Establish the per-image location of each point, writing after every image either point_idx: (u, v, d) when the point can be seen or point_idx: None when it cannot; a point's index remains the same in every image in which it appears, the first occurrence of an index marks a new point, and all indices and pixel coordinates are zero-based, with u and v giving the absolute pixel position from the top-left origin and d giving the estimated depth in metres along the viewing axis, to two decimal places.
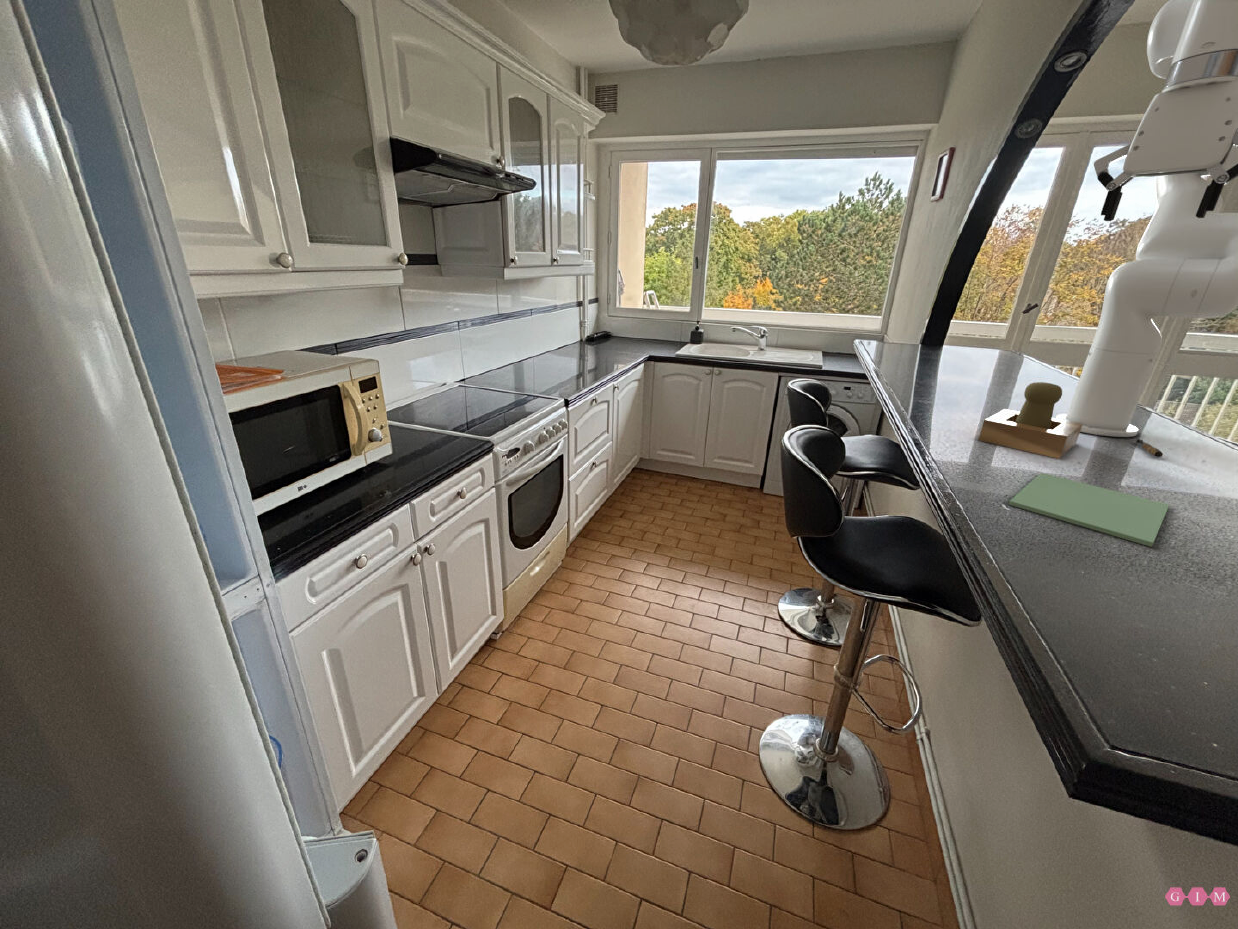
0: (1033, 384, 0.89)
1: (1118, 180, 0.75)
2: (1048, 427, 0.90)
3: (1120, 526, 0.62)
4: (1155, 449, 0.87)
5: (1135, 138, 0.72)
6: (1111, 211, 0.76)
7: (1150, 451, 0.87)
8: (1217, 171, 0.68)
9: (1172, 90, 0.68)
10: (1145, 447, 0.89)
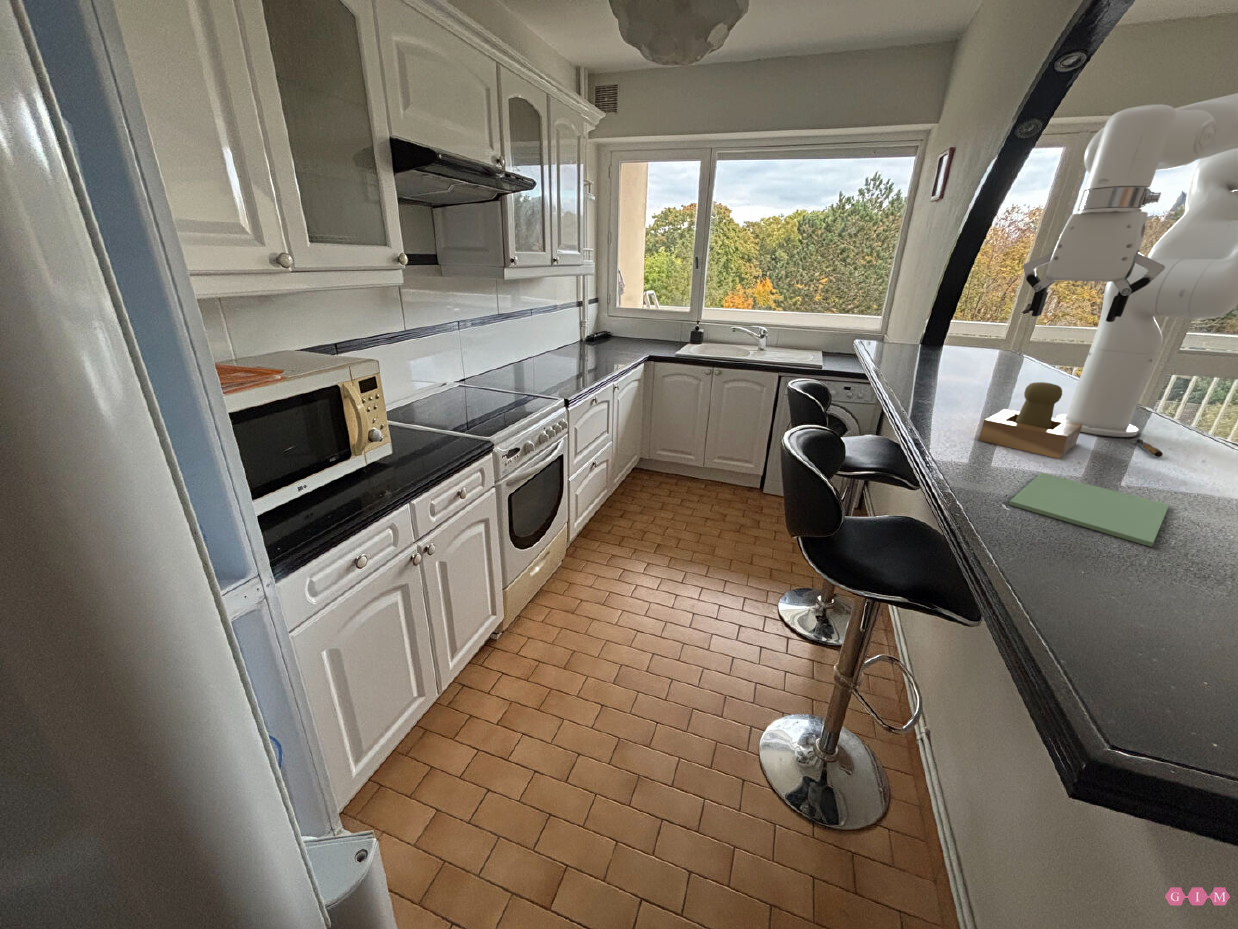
0: (1033, 384, 0.89)
1: (1043, 283, 0.85)
2: (1048, 427, 0.90)
3: (1120, 526, 0.62)
4: (1155, 449, 0.87)
5: (1055, 249, 0.82)
6: (1037, 309, 0.86)
7: (1150, 451, 0.87)
8: (1122, 285, 0.78)
9: (1084, 213, 0.78)
10: (1145, 447, 0.89)
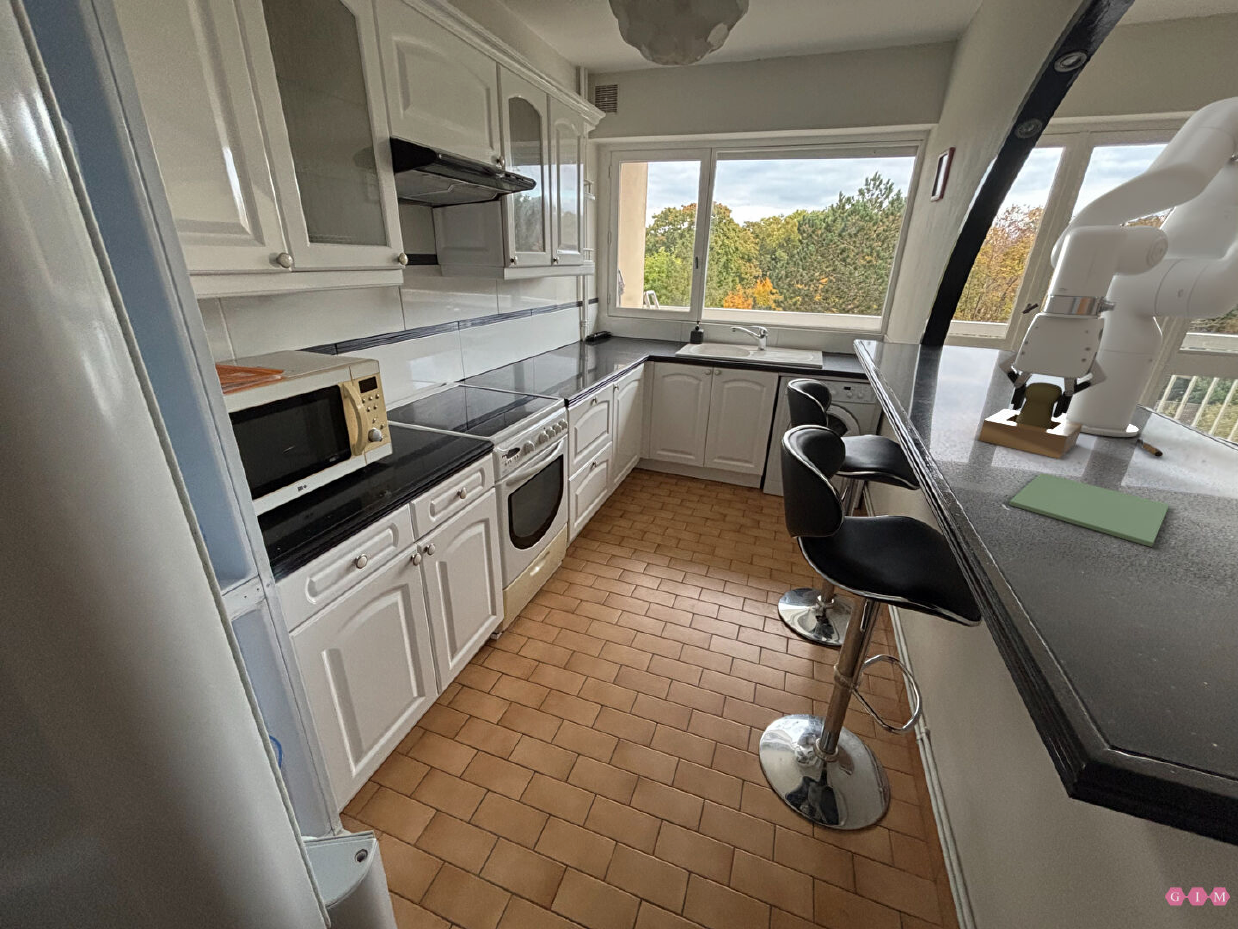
0: (1033, 384, 0.89)
1: (1020, 380, 0.90)
2: (1048, 427, 0.90)
3: (1120, 526, 0.62)
4: (1155, 449, 0.87)
5: (1022, 345, 0.89)
6: (1018, 404, 0.91)
7: (1150, 451, 0.87)
8: (1069, 386, 0.86)
9: (1047, 316, 0.85)
10: (1145, 447, 0.89)
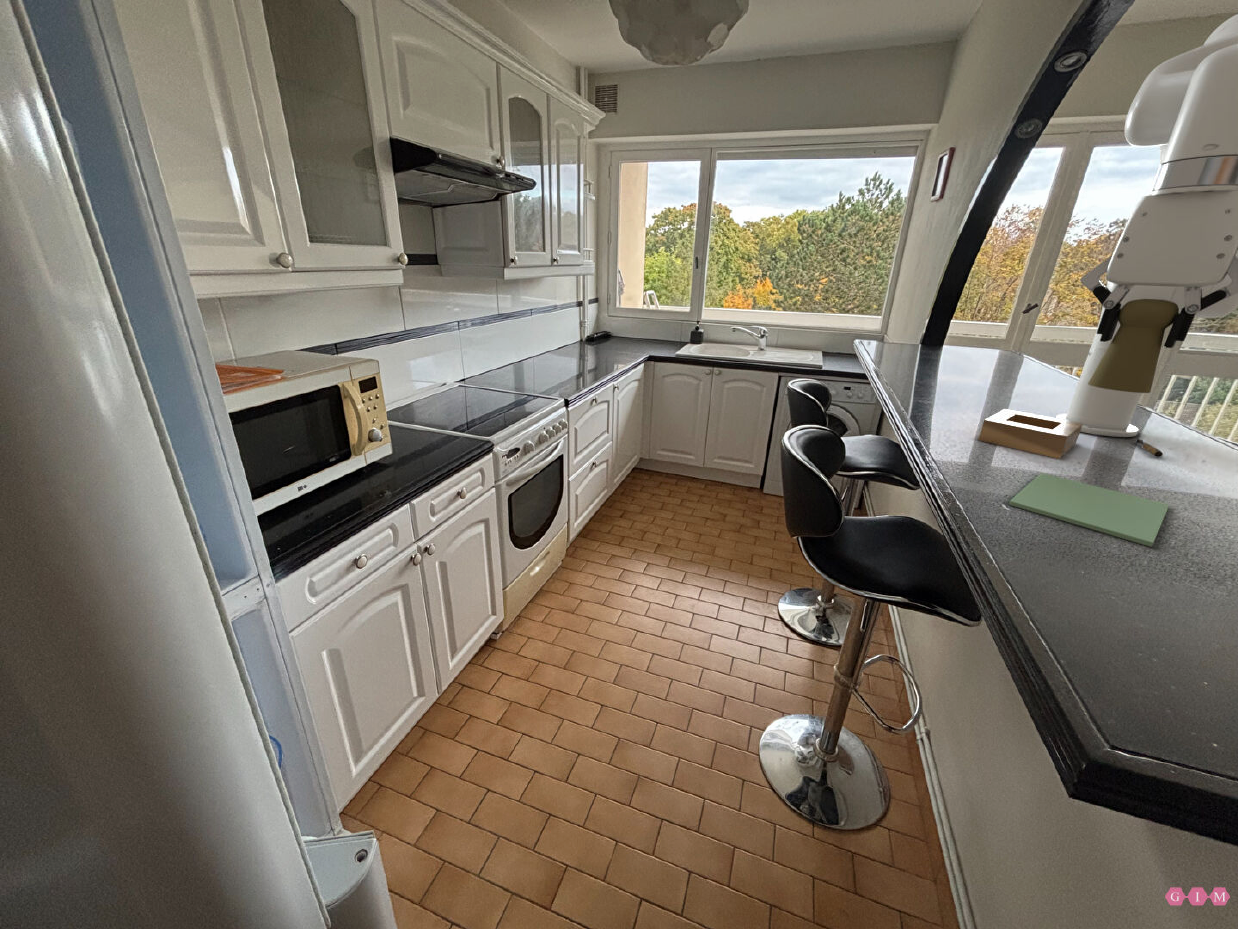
0: (1134, 301, 0.62)
1: (1114, 297, 0.63)
2: (1155, 363, 0.62)
3: (1120, 526, 0.62)
4: (1155, 449, 0.87)
5: (1119, 244, 0.62)
6: (1109, 332, 0.64)
7: (1150, 451, 0.87)
8: (1193, 298, 0.59)
9: (1162, 194, 0.58)
10: (1145, 447, 0.89)
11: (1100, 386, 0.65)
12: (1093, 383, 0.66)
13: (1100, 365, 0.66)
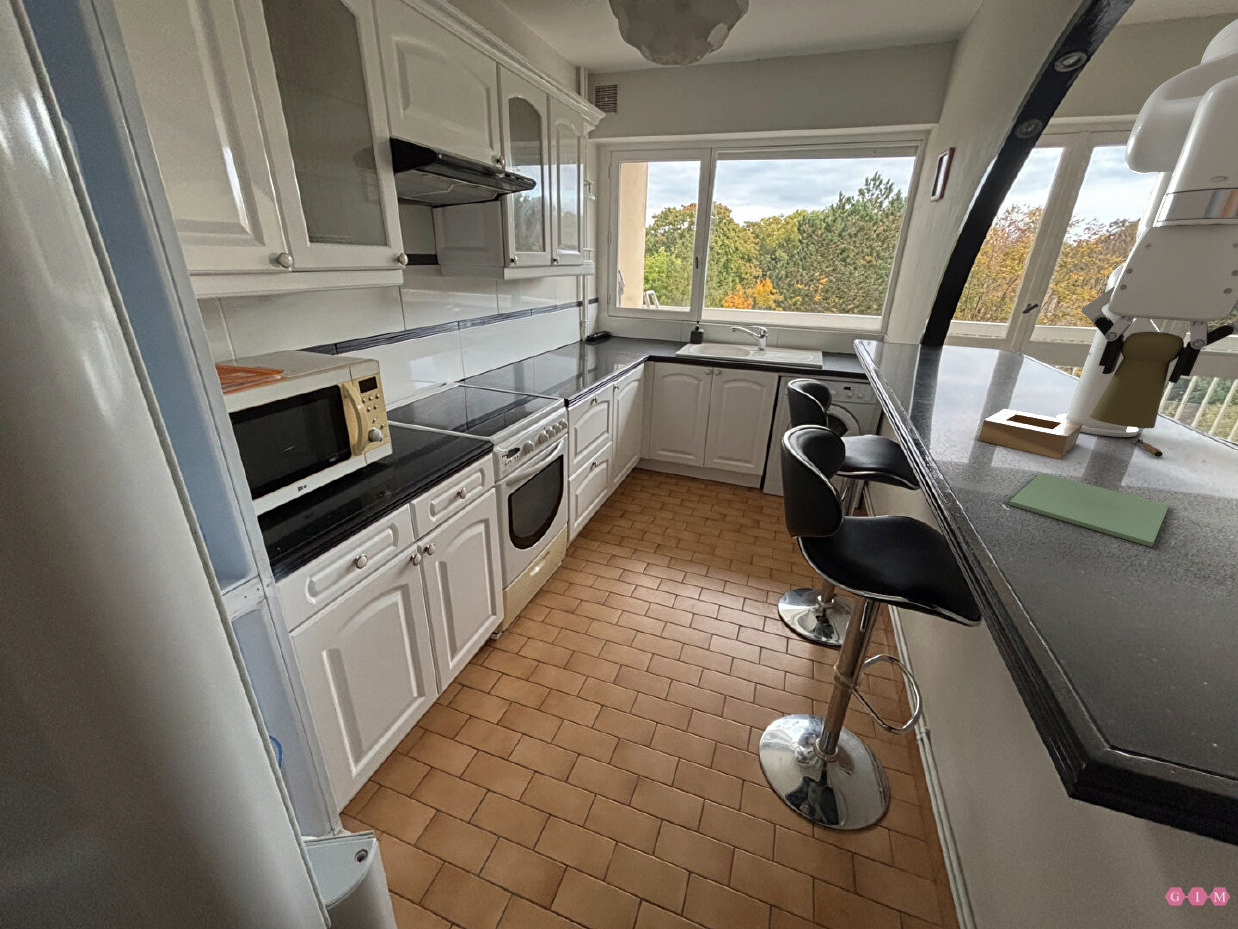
0: (1138, 333, 0.60)
1: (1117, 329, 0.61)
2: (1159, 398, 0.60)
3: (1120, 526, 0.62)
4: (1155, 449, 0.87)
5: (1122, 275, 0.60)
6: (1111, 365, 0.62)
7: (1150, 451, 0.87)
8: (1198, 333, 0.57)
9: (1167, 226, 0.56)
10: (1145, 447, 0.89)
11: (1102, 420, 0.63)
12: (1095, 416, 0.64)
13: (1102, 398, 0.64)
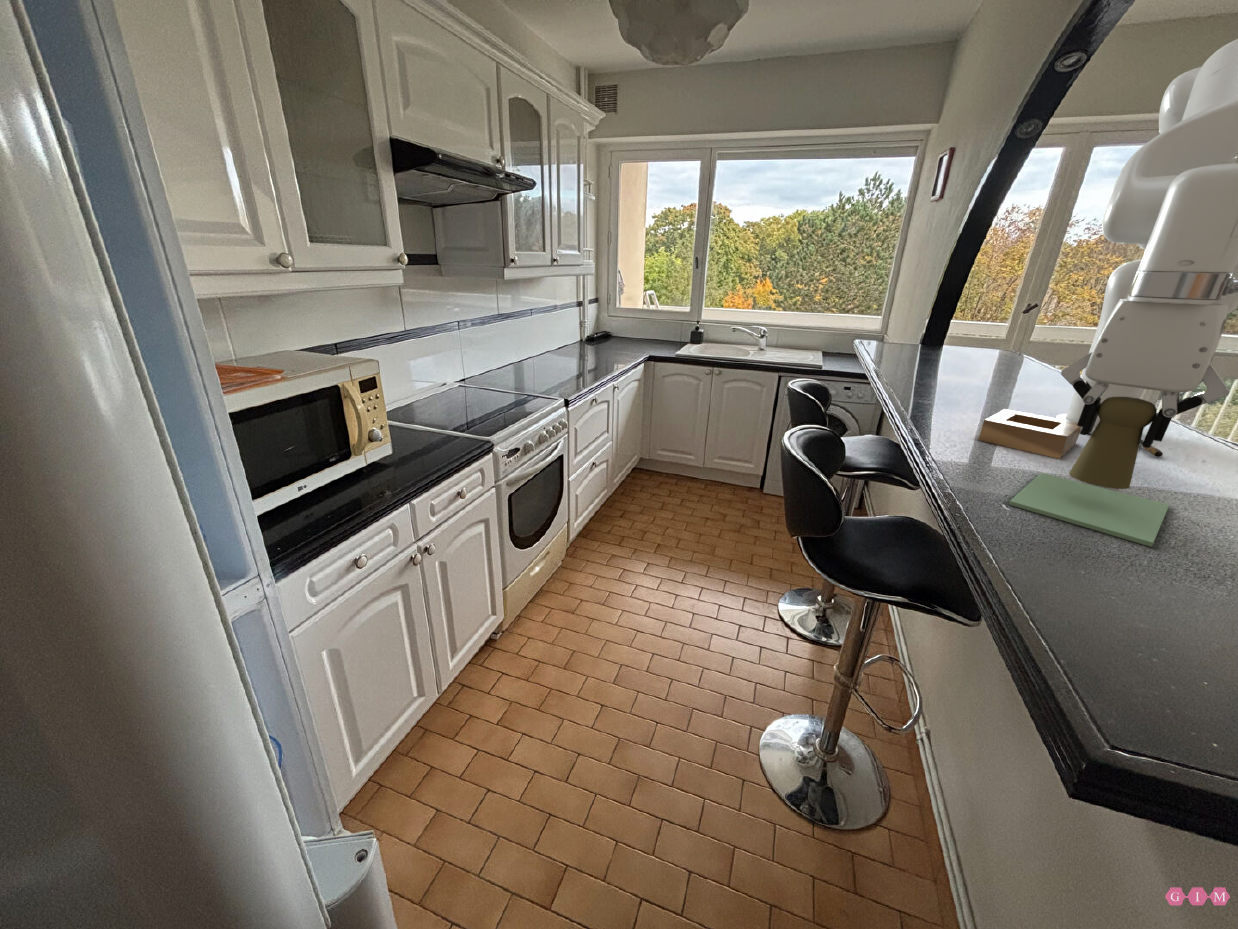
0: (1113, 399, 0.63)
1: (1093, 393, 0.64)
2: (1133, 460, 0.63)
3: (1120, 526, 0.62)
4: (1155, 449, 0.87)
5: (1098, 344, 0.62)
6: (1088, 427, 0.65)
7: (1150, 451, 0.87)
8: (1169, 403, 0.59)
9: (1139, 302, 0.59)
10: (1145, 447, 0.89)
11: (1080, 479, 0.66)
12: (1074, 475, 0.67)
13: (1080, 457, 0.66)
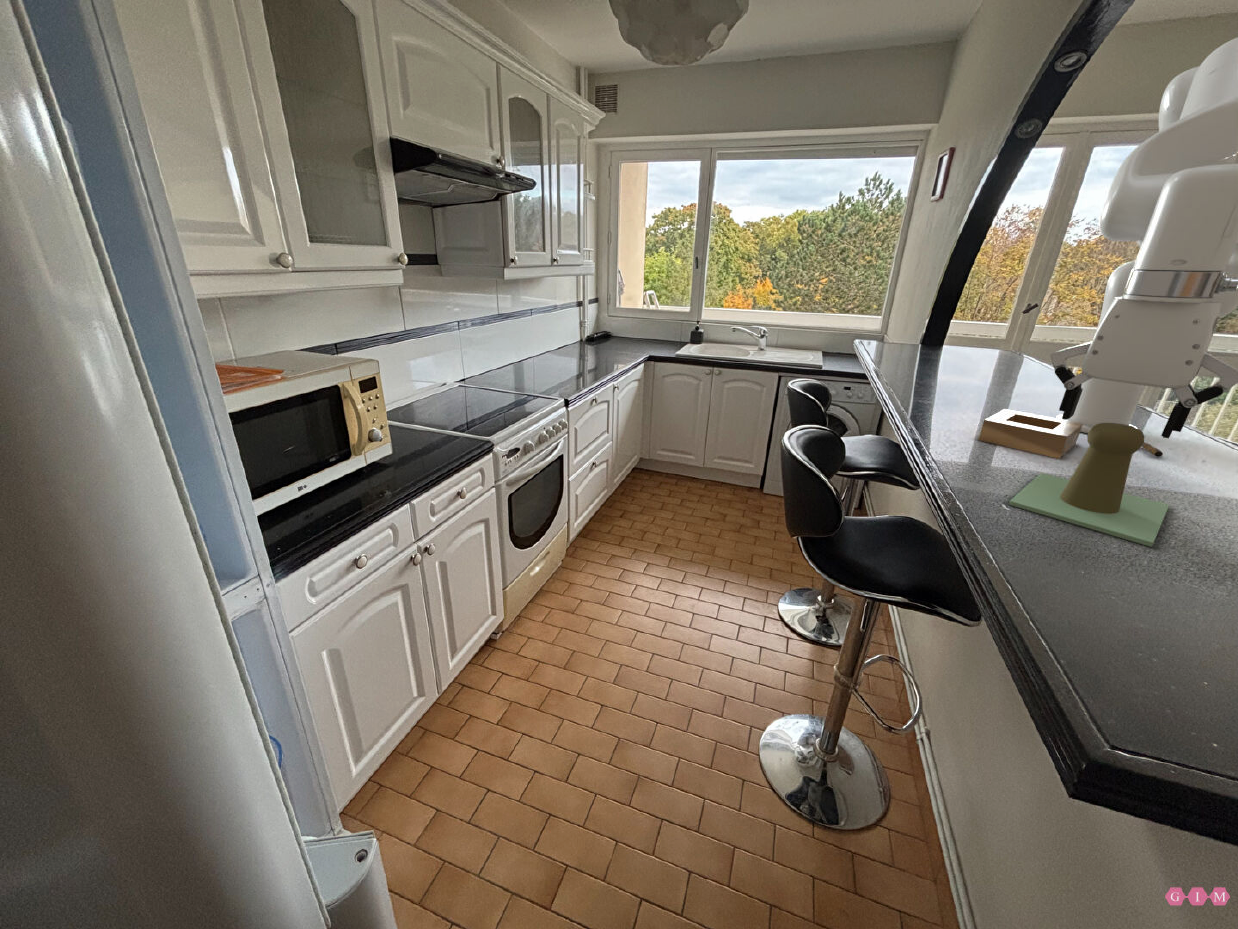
0: (1102, 426, 0.64)
1: (1077, 380, 0.66)
2: (1122, 486, 0.64)
3: (1120, 526, 0.62)
4: (1155, 449, 0.87)
5: (1094, 341, 0.64)
6: (1070, 411, 0.68)
7: (1150, 451, 0.87)
8: (1184, 394, 0.59)
9: (1133, 300, 0.60)
10: (1145, 447, 0.89)
11: (1071, 504, 0.67)
12: (1064, 499, 0.68)
13: (1071, 482, 0.68)
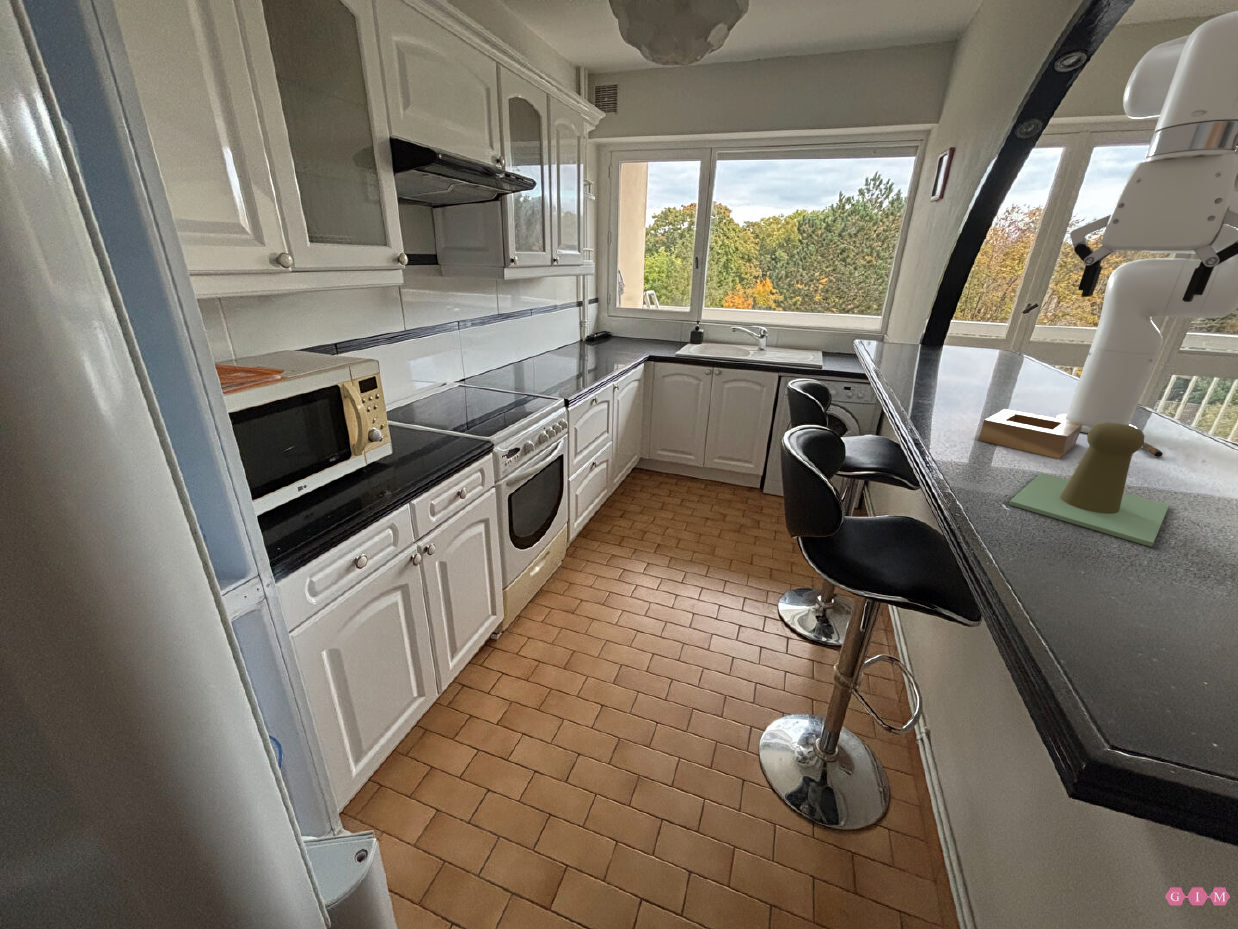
0: (1102, 426, 0.64)
1: (1097, 254, 0.67)
2: (1122, 486, 0.64)
3: (1120, 526, 0.62)
4: (1155, 449, 0.87)
5: (1115, 210, 0.64)
6: (1089, 287, 0.68)
7: (1150, 451, 0.87)
8: (1206, 253, 0.60)
9: (1155, 160, 0.60)
10: (1145, 447, 0.89)
11: (1071, 504, 0.67)
12: (1064, 499, 0.68)
13: (1071, 482, 0.68)
